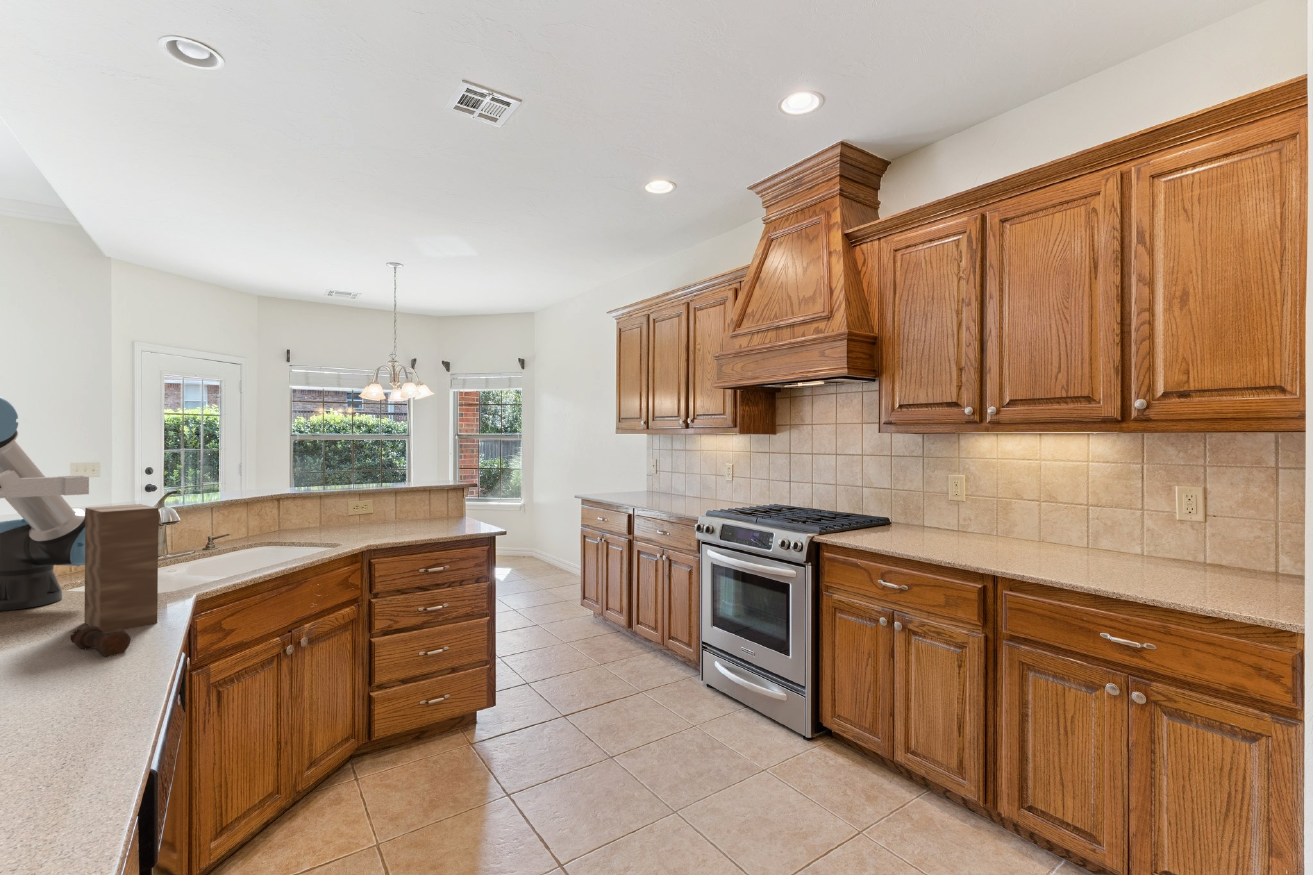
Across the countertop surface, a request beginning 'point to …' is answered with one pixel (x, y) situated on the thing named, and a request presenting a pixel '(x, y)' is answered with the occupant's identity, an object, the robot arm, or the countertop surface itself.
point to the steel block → (48, 487)
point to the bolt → (101, 640)
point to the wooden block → (121, 566)
